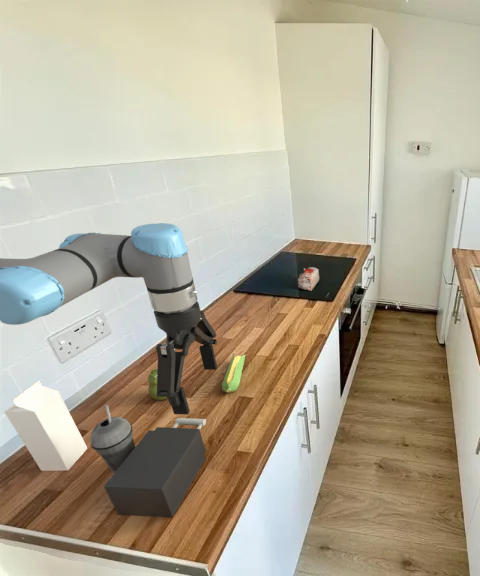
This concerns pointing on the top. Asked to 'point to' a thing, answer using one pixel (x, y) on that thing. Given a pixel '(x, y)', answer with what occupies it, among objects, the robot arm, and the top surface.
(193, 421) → the drawer
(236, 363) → the edible corn
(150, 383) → the pear
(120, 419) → the beverage cup
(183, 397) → the robot arm
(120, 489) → the cabinet
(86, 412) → the top surface
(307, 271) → the food item
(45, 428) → the milk
